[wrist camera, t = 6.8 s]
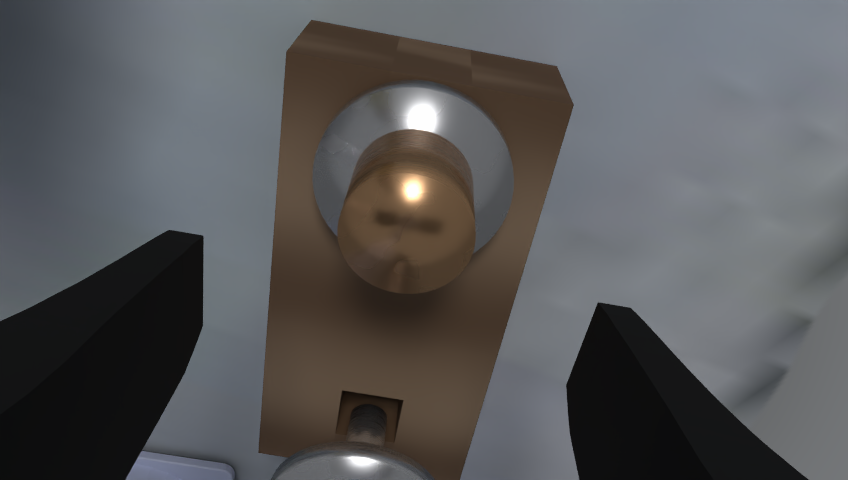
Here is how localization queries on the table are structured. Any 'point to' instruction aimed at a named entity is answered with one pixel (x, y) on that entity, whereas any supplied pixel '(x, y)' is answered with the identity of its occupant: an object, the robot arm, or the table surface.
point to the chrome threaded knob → (354, 455)
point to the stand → (379, 309)
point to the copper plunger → (412, 183)
